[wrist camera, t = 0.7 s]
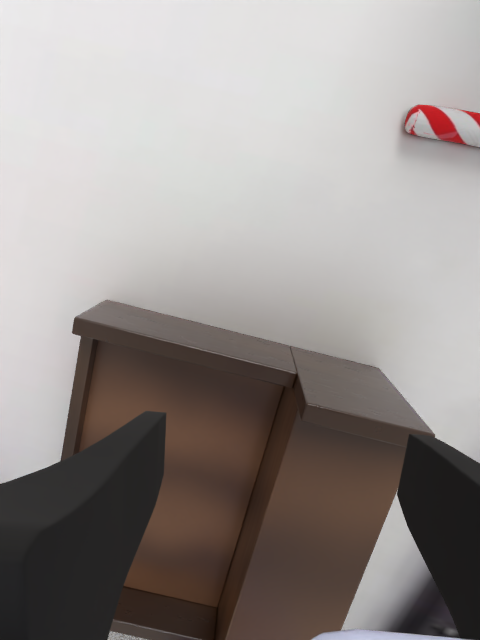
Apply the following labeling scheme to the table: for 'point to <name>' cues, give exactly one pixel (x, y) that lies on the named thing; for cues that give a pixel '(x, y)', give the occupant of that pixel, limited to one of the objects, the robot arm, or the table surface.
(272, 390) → the step shelf
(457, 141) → the candy cane
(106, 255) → the table surface
